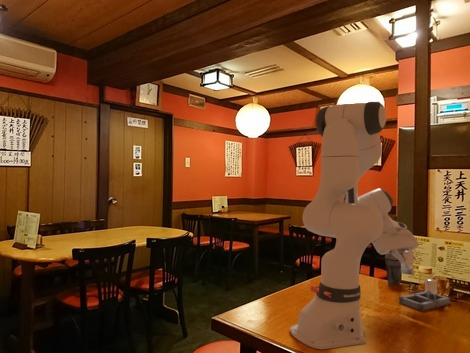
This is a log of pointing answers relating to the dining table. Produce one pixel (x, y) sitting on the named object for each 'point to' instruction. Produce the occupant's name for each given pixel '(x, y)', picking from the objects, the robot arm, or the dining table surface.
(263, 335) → the dining table surface
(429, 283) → the billet
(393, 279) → the beverage cup
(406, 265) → the billet
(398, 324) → the dining table surface
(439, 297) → the grey divided tray
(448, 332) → the dining table surface
